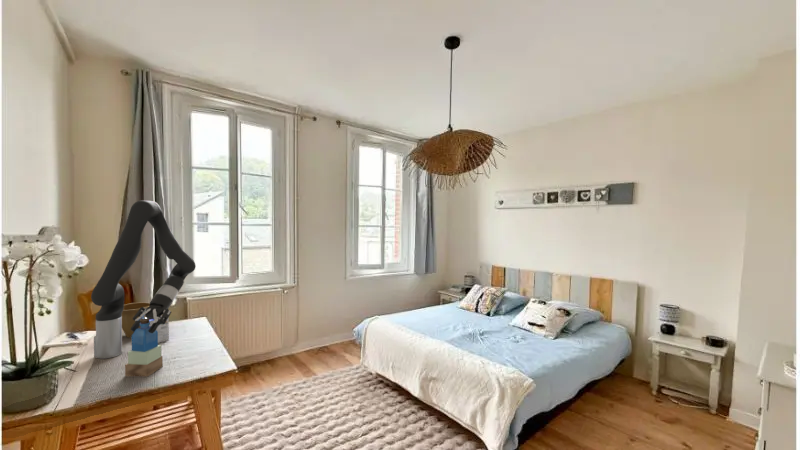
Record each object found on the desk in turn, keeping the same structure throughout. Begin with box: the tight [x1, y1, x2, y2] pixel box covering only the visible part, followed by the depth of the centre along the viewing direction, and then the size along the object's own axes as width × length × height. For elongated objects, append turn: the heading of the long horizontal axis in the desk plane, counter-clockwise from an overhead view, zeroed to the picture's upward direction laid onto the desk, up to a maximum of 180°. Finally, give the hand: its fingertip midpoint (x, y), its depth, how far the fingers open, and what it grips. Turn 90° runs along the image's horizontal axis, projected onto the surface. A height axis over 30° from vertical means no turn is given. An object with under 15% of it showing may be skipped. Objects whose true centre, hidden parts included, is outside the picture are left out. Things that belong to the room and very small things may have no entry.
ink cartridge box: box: [149, 315, 170, 344], centre depth 177 cm, size 10×6×14 cm, turn 148°
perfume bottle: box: [131, 319, 159, 352], centre depth 144 cm, size 6×6×12 cm
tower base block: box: [124, 355, 164, 377], centre depth 145 cm, size 9×9×5 cm
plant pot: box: [122, 302, 150, 338], centre depth 186 cm, size 15×15×16 cm
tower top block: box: [127, 344, 162, 365], centre depth 144 cm, size 8×8×5 cm
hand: (141, 331), depth 143 cm, fingers open, 8 cm apart
